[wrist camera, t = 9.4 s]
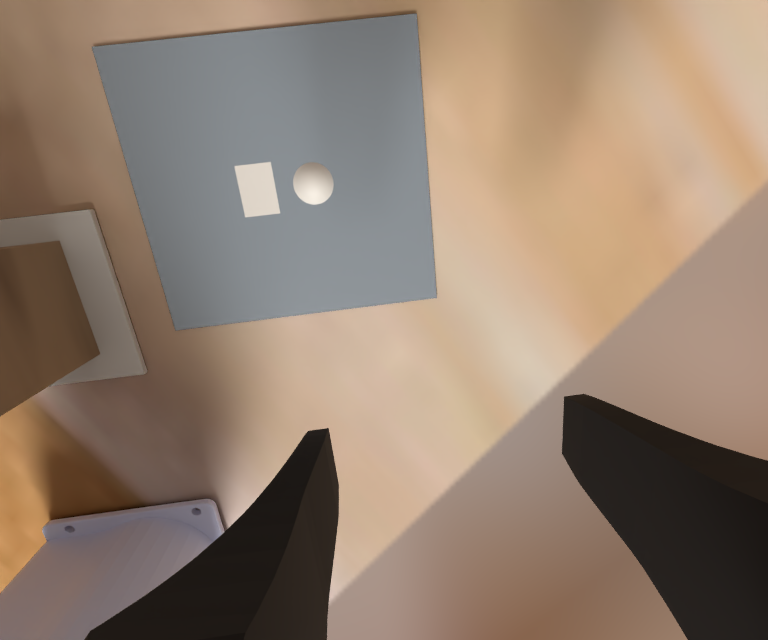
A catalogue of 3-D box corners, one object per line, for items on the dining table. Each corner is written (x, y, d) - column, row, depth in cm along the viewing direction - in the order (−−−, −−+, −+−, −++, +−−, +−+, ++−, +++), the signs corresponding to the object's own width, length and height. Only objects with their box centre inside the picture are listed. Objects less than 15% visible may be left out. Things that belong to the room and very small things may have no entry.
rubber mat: (-34, 395, 20) (-40, 397, 19) (-115, 233, 17) (-123, 234, 17) (147, 371, 20) (144, 374, 20) (93, 209, 17) (89, 209, 17)
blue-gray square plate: (176, 329, 19) (175, 330, 19) (93, 47, 16) (91, 46, 15) (436, 297, 20) (436, 298, 20) (416, 14, 16) (416, 13, 16)
